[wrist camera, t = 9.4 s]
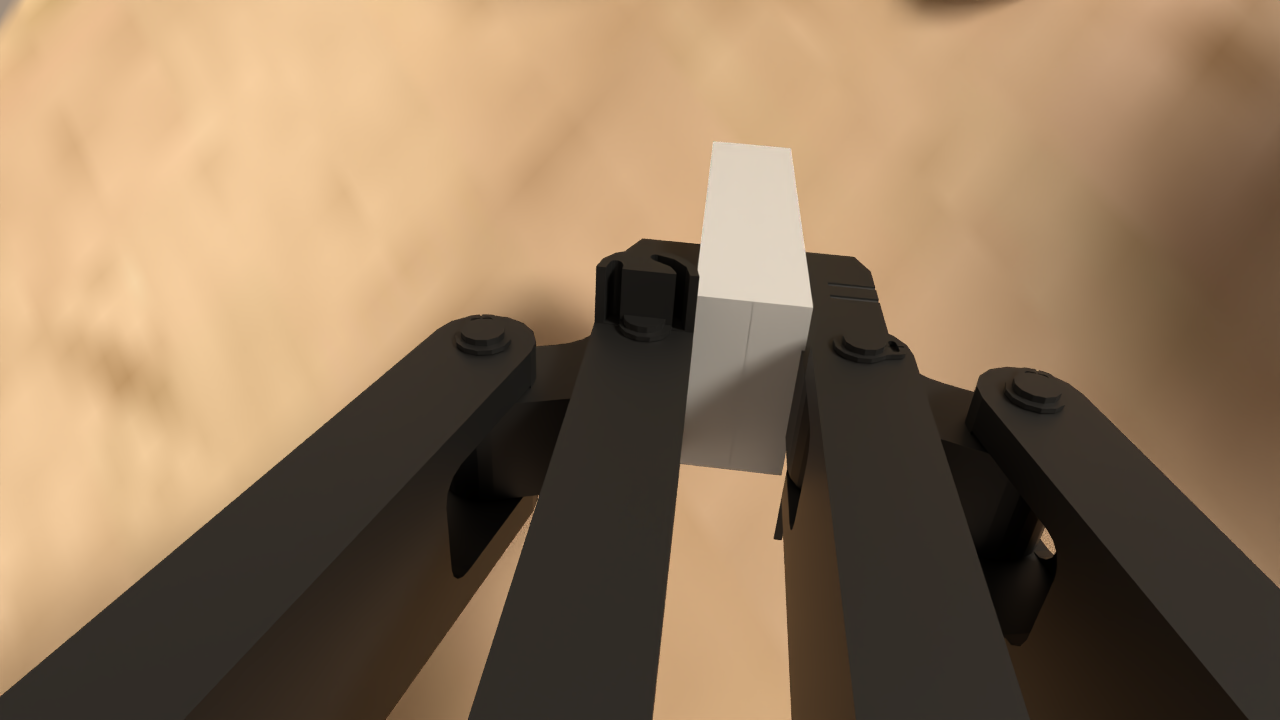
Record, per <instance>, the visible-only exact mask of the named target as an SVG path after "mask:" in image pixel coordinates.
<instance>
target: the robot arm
mask: <svg viewBox="0 0 1280 720" xmlns="http://www.w3.org/2000/svg"><path fill="white" fill-rule="evenodd" d="M878 301H879V299H878V296H877V292H876V290H875V285H874V282H873V278H872V275H871V272H870V271H869V270H868V269H867V268H866V267H865V266H864V265H863V264H861V263H860V262H859V261H858V260H857V259H856V258H855V257H850V256H839V255H829V254H819V253H809V252H805V246H804V239H803V231H802V224H801V217H800V210H799V203H798V196H797V189H796V181H795V174H794V167H793V160H792V153H791V148H783V147H772V146H761V145H750V144H739V143H727V142H716V141H713V147H712V156H711V164H710V172H709V180H708V188H707V197H706V205H705V213H704V221H703V229H702V238H701V244H693V243H683V242H673V241H662V240H652V239H641V240H640V241H639V242H637V243H636V244H634V245H633V246H631V247H630V248H629V249H627V250H626V251H624V252H618V253H615V254H612V255H610V256H608V257H605V258H603V259H602V260H601V262H600V263H599V264H598V265H597V266H596V295H595V323H594V326H593V329H592V332H591V336H589V337H586V338H584V339H582V340H579V341H575V342H572V343H566V344H559V345H549V346H536V340H535V337H534V333H533V331H532V330H531V329H529V328H528V327H527V326H526V325H525V324H524V323H521V322H519V321H516V320H513V319H511V318H508V317H500V316H495V315H485V314H482V316H480V315H472V316H468V317H465V318H462V319H458V320H454V321H451V322H449V323H448V324H446V325H444V326H442V327H441V328H439V329H437V330H436V331H435V332H434V333H433V334H431V335H430V336H429V337H428V338H427V339H425V340H424V341H423V342H422V343H421V344H419V345H418V346H417V347H416V348H415V349H414V350H412V351H411V352H410V353H409V354H408V355H406V356H405V357H404V358H403V359H402V360H400V361H399V362H398V363H397V364H396V365H394V366H393V367H392V368H391V369H390V370H389V371H387V372H386V373H385V374H384V375H383V376H381V377H380V378H379V379H378V380H377V381H375V382H374V383H373V384H372V385H371V386H369V387H368V388H367V389H366V390H365V391H364V392H362V393H361V394H360V395H359V396H358V397H356V398H355V399H354V400H353V401H352V402H350V403H349V404H348V405H347V406H346V407H344V408H343V409H342V410H341V411H340V412H339V413H337V414H336V415H335V416H334V417H333V418H331V419H330V420H329V421H328V422H327V423H325V424H324V425H323V426H322V427H321V428H319V429H318V430H317V431H316V432H315V433H314V434H312V435H311V436H310V437H309V438H308V439H306V440H305V441H304V442H303V443H302V444H300V445H299V446H298V447H297V448H296V449H294V450H293V451H292V452H291V453H290V454H289V455H287V456H286V457H285V458H284V459H283V460H281V461H280V462H279V463H278V464H277V465H275V466H274V467H273V468H272V469H271V470H269V471H268V472H267V473H266V474H265V475H264V476H262V477H261V478H260V479H259V480H258V481H256V482H255V483H254V484H253V485H252V486H250V487H249V488H248V489H247V490H246V491H244V492H243V493H242V494H241V495H240V496H239V497H237V498H236V499H235V500H234V501H233V502H231V503H230V504H229V505H228V506H227V507H225V508H224V509H223V510H222V511H221V512H219V513H218V514H217V515H216V516H215V517H214V518H212V519H211V520H210V521H209V522H208V523H206V524H205V525H204V526H203V527H202V528H200V529H199V530H198V531H197V532H196V533H194V534H193V535H192V536H191V537H190V538H189V539H187V540H186V541H185V542H184V543H183V544H181V545H180V546H179V547H178V548H177V549H175V550H174V551H173V552H172V553H171V554H169V555H168V556H167V557H166V558H165V559H164V560H162V561H161V562H160V563H159V564H158V565H156V566H155V567H154V568H153V569H152V570H150V571H149V572H148V573H147V574H146V575H144V576H143V577H142V578H141V579H140V580H139V581H137V582H136V583H135V584H134V585H133V586H131V587H130V588H129V589H128V590H127V591H125V592H124V593H123V594H122V595H121V596H119V597H118V598H117V599H116V600H115V601H114V602H112V603H111V604H110V605H109V606H108V607H106V608H105V609H104V610H103V611H102V612H100V613H99V614H98V615H97V616H96V617H94V618H93V619H92V620H91V621H90V622H89V623H87V624H86V625H85V626H84V627H83V628H81V629H80V630H79V631H78V632H77V633H75V634H74V635H73V636H72V637H71V638H70V639H68V640H67V641H66V642H65V643H64V644H62V645H61V646H60V647H59V648H58V649H56V650H55V651H54V652H53V653H52V654H50V655H49V656H48V657H47V658H46V659H45V660H43V661H42V662H41V663H40V664H39V665H37V666H36V667H35V668H34V669H33V670H31V671H30V672H29V673H28V674H27V675H25V676H24V677H23V678H22V679H21V680H20V681H18V682H17V683H16V684H15V685H14V686H12V687H11V688H10V689H9V690H8V691H6V692H5V693H4V694H3V695H2V696H0V720H386V718H387V717H388V715H389V714H390V713H391V711H392V710H393V708H394V707H395V705H396V704H397V703H398V701H399V700H400V698H401V697H402V696H403V694H404V693H405V691H406V690H407V689H408V687H409V686H410V684H411V683H412V681H413V680H414V679H415V677H416V676H417V674H418V673H419V672H420V670H421V669H422V667H423V666H424V665H425V663H426V662H427V660H428V659H429V657H430V656H431V655H432V653H433V652H434V650H435V649H436V648H437V646H438V645H439V643H440V642H441V641H442V639H443V638H444V636H445V635H446V633H447V632H448V631H449V629H450V628H451V626H452V625H453V624H454V622H455V621H456V619H457V618H458V617H459V615H460V614H461V612H462V611H463V609H464V608H465V607H466V605H467V604H468V602H469V601H470V600H471V598H472V597H473V595H474V594H475V593H476V591H477V590H478V588H479V587H480V585H481V584H482V583H483V581H484V580H485V578H486V577H487V576H488V574H489V573H490V571H491V570H492V568H493V567H494V566H495V564H496V563H497V561H498V560H499V559H500V557H501V556H502V554H503V553H504V552H505V550H506V549H507V547H508V546H509V544H510V543H511V542H512V540H513V539H514V537H515V536H516V535H517V533H518V532H519V530H520V529H521V528H522V526H523V525H524V523H525V522H526V520H527V519H528V518H529V516H530V515H531V513H532V512H533V510H534V507H535V505H536V502H537V500H538V502H537V505H536V508H535V511H534V514H533V517H532V520H531V523H530V527H529V530H528V533H527V536H526V539H525V542H524V545H523V549H522V552H521V555H520V558H519V561H518V564H517V567H516V570H515V574H514V577H513V580H512V583H511V586H510V589H509V592H508V596H507V599H506V602H505V605H504V608H503V611H502V614H501V617H500V621H499V624H498V627H497V630H496V633H495V636H494V639H493V643H492V646H491V649H490V652H489V655H488V658H487V661H486V664H485V668H484V671H483V674H482V677H481V680H480V683H479V686H478V689H477V693H476V696H475V699H474V702H473V705H472V708H471V711H470V715H469V718H468V720H653V711H654V702H655V693H656V683H657V674H658V665H659V655H660V646H661V637H662V627H663V618H664V609H665V599H666V590H667V581H668V571H669V562H670V553H671V544H672V534H673V525H674V516H675V506H676V497H677V488H678V478H679V469H680V464H686V465H695V466H704V467H712V468H721V469H730V470H738V471H747V472H756V473H764V474H773V475H782V470H783V464H784V459H785V454H786V456H787V472H786V477H785V483H784V488H783V493H782V498H781V503H780V509H779V514H778V519H777V524H776V529H775V534H774V539H776V540H782V537H783V542H784V564H785V585H786V607H787V629H788V651H789V673H790V695H791V717H792V720H1280V589H1279V588H1278V587H1277V586H1276V585H1275V584H1274V583H1273V582H1272V581H1271V580H1270V579H1269V578H1268V577H1267V576H1266V575H1265V574H1264V573H1263V572H1262V571H1261V570H1260V569H1259V568H1258V567H1257V566H1256V565H1255V564H1254V563H1253V562H1252V561H1251V560H1250V559H1249V558H1248V557H1247V556H1246V555H1245V554H1244V553H1243V552H1242V551H1241V550H1240V549H1239V548H1238V547H1237V546H1236V545H1235V544H1234V543H1233V542H1232V541H1231V540H1230V539H1229V538H1228V537H1227V536H1226V535H1225V534H1224V533H1223V532H1222V531H1221V530H1220V529H1219V528H1218V527H1217V526H1216V525H1215V524H1214V523H1213V522H1212V521H1211V520H1210V519H1209V518H1208V517H1207V516H1206V515H1205V514H1204V513H1202V512H1201V511H1200V510H1199V509H1198V508H1197V507H1196V506H1195V505H1194V504H1193V503H1192V502H1191V501H1190V500H1189V499H1188V498H1187V497H1186V496H1185V495H1184V494H1183V493H1182V492H1181V491H1180V490H1179V489H1178V488H1177V487H1176V486H1175V485H1174V484H1173V483H1172V482H1171V481H1170V480H1169V479H1168V478H1167V477H1166V476H1165V475H1164V474H1163V473H1162V472H1161V471H1160V470H1159V469H1158V468H1157V467H1156V466H1155V465H1154V464H1153V463H1152V462H1151V461H1150V460H1149V459H1148V458H1147V457H1146V456H1145V455H1144V454H1143V453H1142V452H1141V451H1140V450H1139V449H1138V448H1137V447H1136V446H1135V445H1134V444H1133V443H1132V442H1131V441H1130V440H1129V439H1128V438H1127V437H1126V436H1125V435H1124V434H1123V433H1122V432H1121V431H1120V430H1119V429H1118V428H1117V427H1116V426H1115V425H1114V424H1113V423H1112V422H1111V421H1110V420H1109V419H1108V418H1107V417H1106V416H1105V415H1103V414H1102V413H1101V412H1100V411H1099V410H1098V409H1097V408H1096V407H1095V406H1094V405H1093V404H1092V403H1091V402H1090V401H1089V400H1088V399H1087V398H1086V397H1085V396H1084V395H1083V394H1082V393H1080V392H1079V391H1078V390H1076V389H1075V388H1074V387H1072V386H1071V385H1070V384H1068V383H1066V382H1064V381H1062V380H1060V379H1058V378H1055V377H1053V376H1052V375H1051V374H1049V373H1046V372H1043V371H1040V370H1039V371H1036V369H1030V368H1014V367H1002V368H996V369H990V370H988V371H987V372H985V373H983V374H982V375H980V376H979V379H978V382H977V385H976V388H975V391H974V392H972V391H968V390H965V389H961V388H958V387H954V386H951V385H947V384H944V383H941V382H938V381H935V380H932V379H929V378H927V377H925V376H923V375H921V374H920V373H919V370H918V367H917V364H916V361H915V358H914V355H913V354H912V352H911V351H910V349H909V348H908V346H907V345H906V344H904V343H903V342H901V341H900V340H899V339H897V338H896V337H894V336H892V335H890V334H888V330H887V327H886V323H885V320H884V317H883V313H882V310H881V306H880V303H878ZM538 495H539V498H538ZM1044 528H1046V529H1047V530H1048V532H1049V534H1050V536H1051V538H1052V539H1053V542H1054V545H1055V549H1056V553H1055V554H1054V555H1053V554H1052V553H1051V552H1050V551H1049V550H1048V549H1047V547H1046V546H1045V545H1044V543H1043V542H1042V540H1041V539H1040V538H1041V536H1042V533H1043V531H1044Z"/></svg>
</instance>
